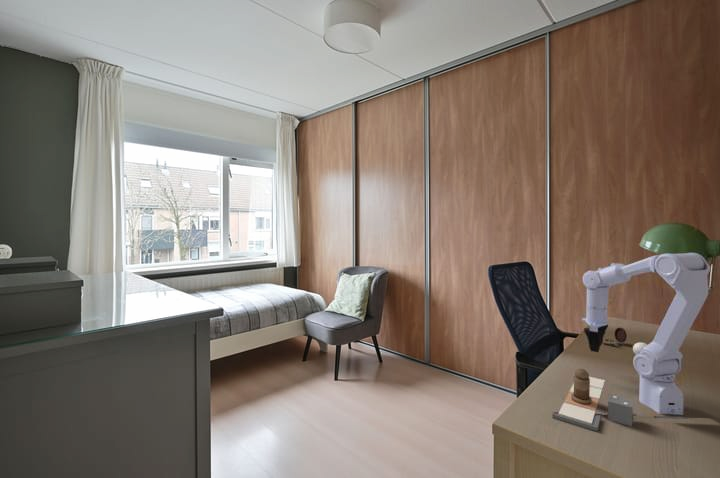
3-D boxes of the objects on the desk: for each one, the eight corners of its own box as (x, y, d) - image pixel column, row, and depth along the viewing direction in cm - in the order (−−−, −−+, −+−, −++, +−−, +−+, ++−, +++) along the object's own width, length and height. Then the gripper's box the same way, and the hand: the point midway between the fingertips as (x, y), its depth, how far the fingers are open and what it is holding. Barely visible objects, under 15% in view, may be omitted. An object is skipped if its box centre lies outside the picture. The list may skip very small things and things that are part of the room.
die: (631, 426, 89) (632, 407, 89) (607, 419, 92) (608, 400, 92) (632, 418, 93) (633, 399, 93) (609, 412, 96) (610, 393, 96)
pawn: (595, 405, 97) (595, 373, 97) (577, 404, 98) (577, 372, 97) (585, 396, 102) (586, 366, 102) (568, 396, 102) (568, 365, 102)
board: (597, 431, 87) (597, 426, 87) (552, 417, 94) (552, 412, 93) (610, 384, 112) (610, 380, 112) (573, 376, 119) (573, 372, 119)
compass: (598, 342, 153) (599, 325, 153) (617, 342, 153) (617, 325, 152) (611, 348, 145) (611, 331, 145) (630, 348, 145) (631, 331, 144)
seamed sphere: (652, 357, 135) (652, 342, 135) (649, 361, 131) (650, 346, 131) (627, 351, 141) (628, 338, 140) (624, 355, 137) (625, 341, 137)
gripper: (585, 301, 124) (584, 339, 124) (578, 309, 112) (578, 351, 113) (610, 304, 119) (609, 344, 120) (605, 313, 108) (604, 356, 108)
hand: (595, 348), depth 116 cm, fingers open, 7 cm apart
